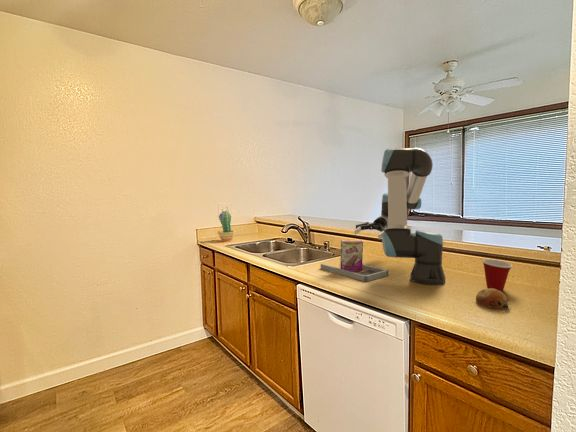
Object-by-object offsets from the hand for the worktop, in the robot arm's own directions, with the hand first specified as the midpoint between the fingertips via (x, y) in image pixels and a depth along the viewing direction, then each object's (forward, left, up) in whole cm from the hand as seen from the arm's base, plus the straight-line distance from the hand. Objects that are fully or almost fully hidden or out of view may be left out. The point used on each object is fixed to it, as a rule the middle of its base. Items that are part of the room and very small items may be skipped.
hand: (366, 234), depth 168 cm
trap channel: (0, +12, -18) cm, 22 cm away
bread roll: (-64, +7, -19) cm, 67 cm away
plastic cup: (-57, -14, -19) cm, 62 cm away
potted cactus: (+129, +20, -19) cm, 131 cm away
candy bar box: (+1, +12, -19) cm, 22 cm away
